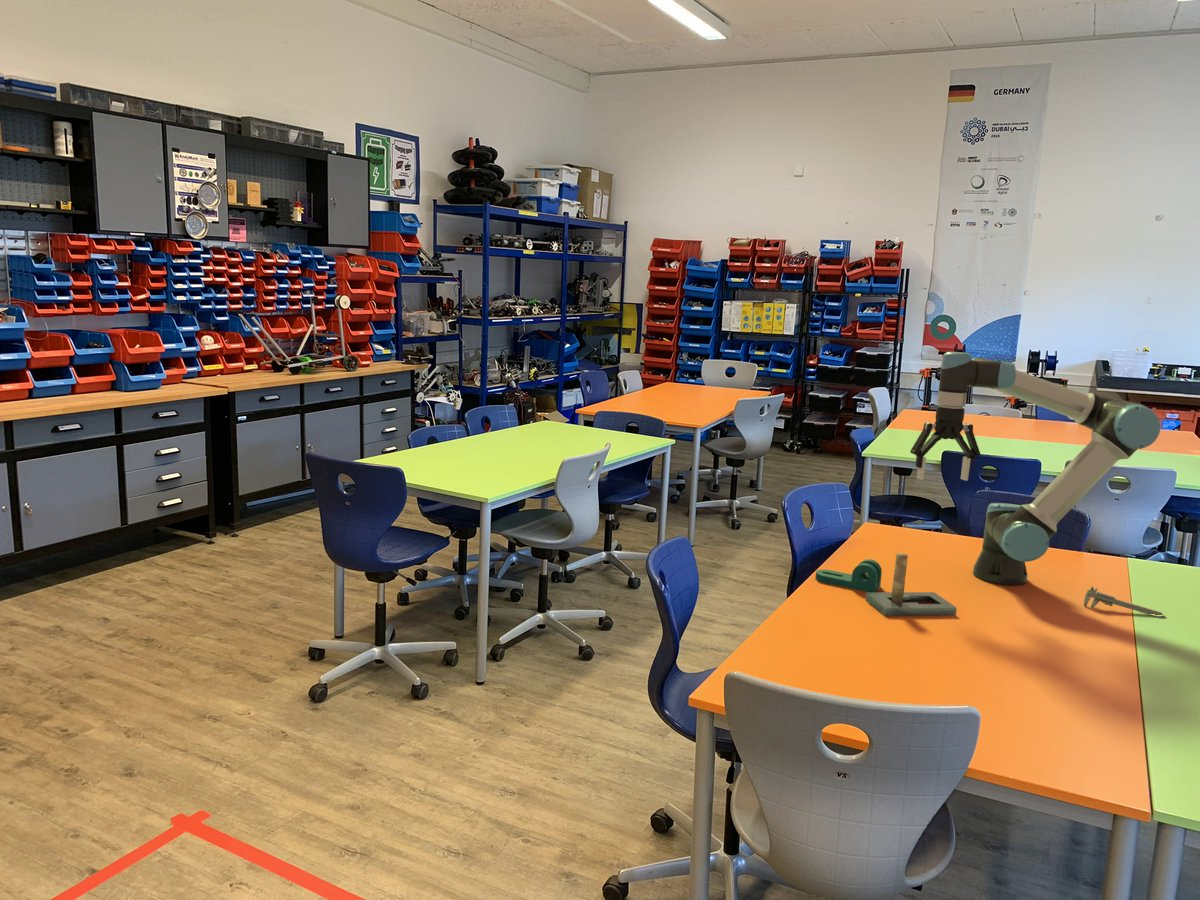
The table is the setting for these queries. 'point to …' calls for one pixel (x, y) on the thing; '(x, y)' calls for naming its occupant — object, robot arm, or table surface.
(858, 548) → the table surface
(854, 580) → the bracket
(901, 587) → the peg
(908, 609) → the keyhole plate
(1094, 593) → the caliper
